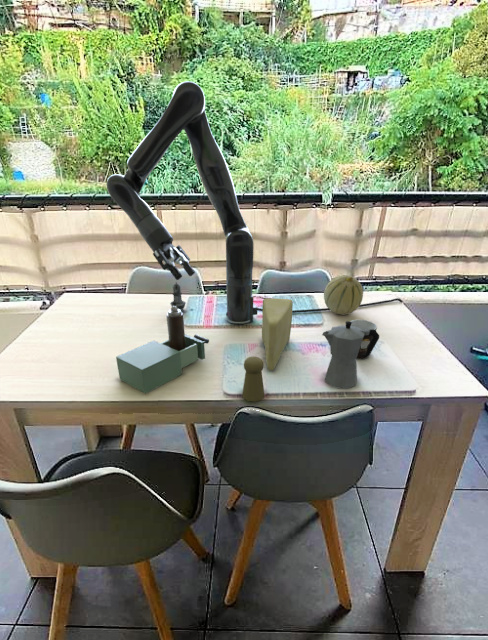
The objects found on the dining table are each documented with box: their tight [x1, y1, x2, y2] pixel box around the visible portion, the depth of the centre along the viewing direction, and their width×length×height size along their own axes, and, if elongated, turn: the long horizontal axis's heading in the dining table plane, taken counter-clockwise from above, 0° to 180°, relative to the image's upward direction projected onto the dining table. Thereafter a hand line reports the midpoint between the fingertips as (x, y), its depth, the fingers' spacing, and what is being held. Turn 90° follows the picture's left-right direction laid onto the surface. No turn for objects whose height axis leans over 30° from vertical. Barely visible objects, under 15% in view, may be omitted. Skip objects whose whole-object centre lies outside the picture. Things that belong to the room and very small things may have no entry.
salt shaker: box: [169, 281, 186, 314], centre depth 159 cm, size 6×6×12 cm
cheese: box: [261, 297, 294, 371], centre depth 128 cm, size 22×10×15 cm, turn 172°
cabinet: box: [115, 340, 183, 394], centre depth 118 cm, size 13×11×7 cm
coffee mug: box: [350, 319, 378, 360], centre depth 130 cm, size 12×9×10 cm
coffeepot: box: [321, 320, 380, 389], centre depth 114 cm, size 15×9×18 cm, turn 92°
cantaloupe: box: [323, 274, 364, 316], centre depth 158 cm, size 15×15×15 cm
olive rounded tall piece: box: [241, 356, 265, 403], centre depth 109 cm, size 6×6×11 cm
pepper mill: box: [165, 306, 186, 351], centre depth 123 cm, size 5×5×16 cm
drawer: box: [160, 333, 210, 369], centre depth 126 cm, size 17×10×6 cm, turn 140°
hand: (186, 276), depth 130 cm, fingers open, 8 cm apart
